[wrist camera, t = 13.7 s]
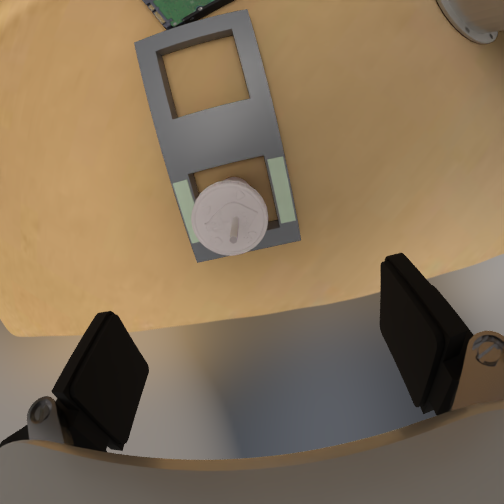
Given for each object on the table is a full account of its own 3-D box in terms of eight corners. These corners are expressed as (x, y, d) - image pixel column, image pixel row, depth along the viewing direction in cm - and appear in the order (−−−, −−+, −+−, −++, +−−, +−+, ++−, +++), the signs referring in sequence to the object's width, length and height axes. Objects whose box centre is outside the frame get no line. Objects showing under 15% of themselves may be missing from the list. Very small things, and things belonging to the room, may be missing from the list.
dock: (247, 16, 24) (247, 8, 21) (297, 231, 35) (301, 241, 32) (141, 47, 25) (133, 42, 22) (200, 253, 36) (197, 263, 33)
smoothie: (269, 210, 33) (283, 270, 21) (216, 226, 34) (198, 292, 21) (253, 157, 31) (257, 183, 18) (198, 174, 31) (164, 213, 19)
